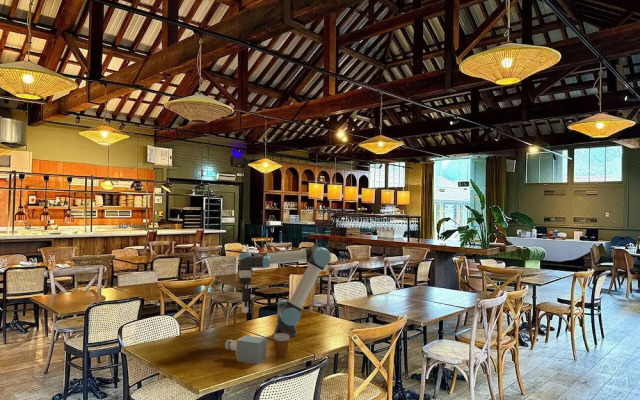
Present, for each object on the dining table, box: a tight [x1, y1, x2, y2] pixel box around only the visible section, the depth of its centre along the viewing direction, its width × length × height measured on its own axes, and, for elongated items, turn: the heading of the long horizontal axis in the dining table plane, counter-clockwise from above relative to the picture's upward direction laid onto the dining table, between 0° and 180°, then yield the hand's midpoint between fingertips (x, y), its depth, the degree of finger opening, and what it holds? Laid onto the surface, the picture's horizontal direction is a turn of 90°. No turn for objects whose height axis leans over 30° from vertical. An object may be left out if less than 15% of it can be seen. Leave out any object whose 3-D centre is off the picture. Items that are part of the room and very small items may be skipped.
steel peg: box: [224, 339, 236, 351], centre depth 248 cm, size 12×5×5 cm, turn 71°
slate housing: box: [235, 335, 268, 365], centre depth 246 cm, size 14×10×11 cm
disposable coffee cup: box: [272, 333, 291, 359], centre depth 253 cm, size 10×10×12 cm
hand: (244, 312), depth 272 cm, fingers open, 13 cm apart
